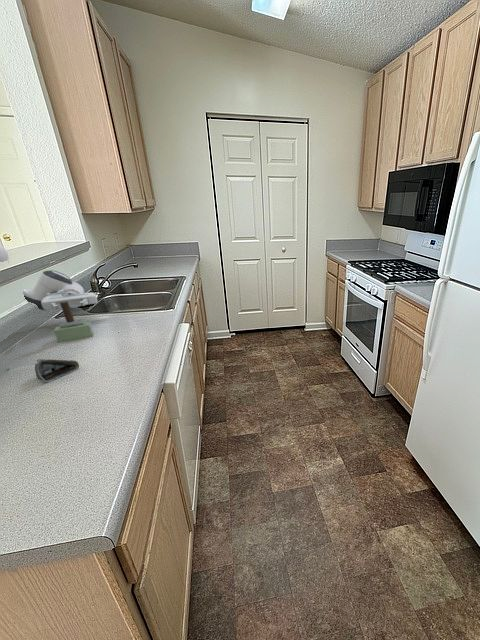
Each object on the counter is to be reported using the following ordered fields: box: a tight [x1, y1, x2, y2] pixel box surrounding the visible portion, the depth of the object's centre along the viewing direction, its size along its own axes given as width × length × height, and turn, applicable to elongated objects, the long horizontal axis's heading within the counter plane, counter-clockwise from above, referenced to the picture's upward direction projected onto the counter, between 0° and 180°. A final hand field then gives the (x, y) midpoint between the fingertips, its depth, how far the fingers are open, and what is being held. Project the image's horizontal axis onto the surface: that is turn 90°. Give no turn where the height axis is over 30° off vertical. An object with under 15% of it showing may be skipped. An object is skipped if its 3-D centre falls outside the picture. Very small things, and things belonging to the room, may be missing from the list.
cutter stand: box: [53, 321, 94, 343], centre depth 135 cm, size 12×5×6 cm, turn 118°
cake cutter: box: [58, 301, 84, 328], centre depth 132 cm, size 8×3×15 cm, turn 118°
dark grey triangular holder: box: [34, 358, 80, 383], centre depth 109 cm, size 10×7×12 cm
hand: (69, 305), depth 138 cm, fingers open, 8 cm apart
